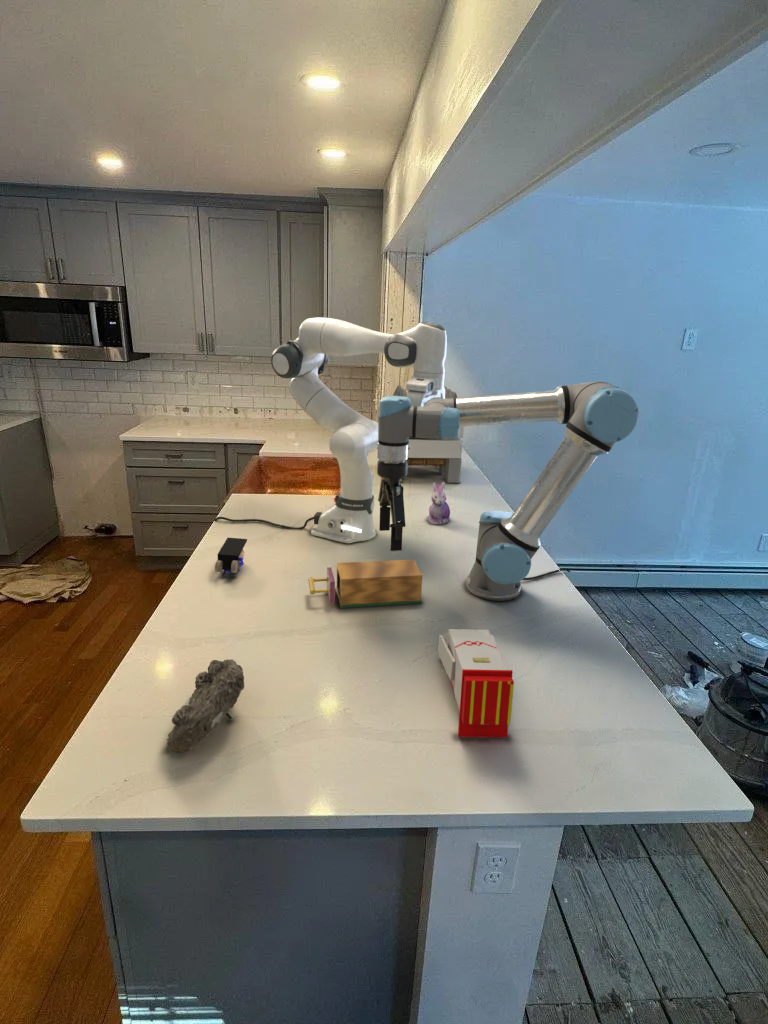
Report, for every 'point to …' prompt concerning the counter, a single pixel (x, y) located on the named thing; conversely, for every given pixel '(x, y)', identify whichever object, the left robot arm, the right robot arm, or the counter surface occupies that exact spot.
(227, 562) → the figurine character
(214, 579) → the counter surface
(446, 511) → the figurine
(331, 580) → the drawer
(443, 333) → the left robot arm
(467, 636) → the toy
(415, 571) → the wooden box
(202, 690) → the fossil
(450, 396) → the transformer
